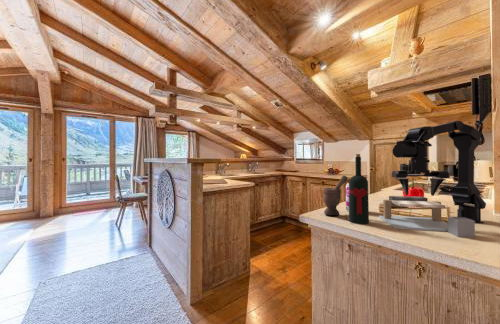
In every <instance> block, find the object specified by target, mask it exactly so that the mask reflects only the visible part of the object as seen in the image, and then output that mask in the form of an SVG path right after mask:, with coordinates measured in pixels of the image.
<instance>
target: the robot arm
mask: <svg viewBox="0 0 500 324" xmlns="http://www.w3.org/2000/svg"><path fill="white" fill-rule="evenodd" d="M446 133H448V137H449V138H450V139H451V140H452V141H453V143H452V144H453V146H454V147H455V149H457V151H458V155H457V157H458V161H457V162H458V163H457V170H458V171H457V183H456V185H455V186H452V187H451V194H450V195H451V198H452V201H453V205H454V206H458V209H457V216H456V217H465V218H468V219H471V220H474V221H475V224H476V223H477V224H478V223H479V224H480V223H481V224H484V223H485V222H484V221H483V220H481V219H482V216H481V215H482V211H481V210H485V209H486V207H487V203H486V202H485V201H484V199H483V198H482V197H481V195H480V190H479V188H478V187H477V186H476V184H475V150H476V149H477V148H478V146H479V145H480V143H481V139H482V134H481V132H480V131H479V130H478V129H476V128H475V127H474V126H472V125H469V124H466V123H464V122H462V121H461V120H452V121H447V122H445V123H441V124H440V123H439V124H437V125H433V126H431V125H429V126H427V125H426V126H419V127H414V128H413V127H412V128H410V129H408V132H407V134H406V135H405V137H403V140H397V141H396V144H394V146H393V148H392V155H393V156H394V157H395V158H399V159H400V158H405V159H406V158H410V160H408V164H407V163H400V165H399V170H392V172H391V178H395V180H397V181H398V182H399V183H400V185H401V187H402V189H403V191H404V193H405V196H408V195H409V178H407V177H413V178H414V177H420V178H421V177H427V178H428V177H430V178H429V180H430V196H435V195H436V192H437V190H438V189H439V187H440V186H441V185H442V184H443V182H444V181H447V179H451V174H450V172H449V171H447V170H430V169H429V163H430V162H431V161H430V159H429V154H428V153H429V152H428V150H429V149H428V147H432V146H433V144H432V143H430V142H429V140H431V139H433V138H434V137H435V136H438V135H441V134H446Z"/></svg>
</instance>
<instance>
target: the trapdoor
mask: <svg viewBox="0 0 500 324" xmlns="http://www.w3.org/2000/svg"><path fill="white" fill-rule="evenodd" d="M388 200H391V206H399V207H407V208H408V207H409V208H411V207H412V208H432V207H433V208H441V209H446V205H445V204H442V203H441V204H439V203H435V202H432V201H431V200H430V201H428V197H425V196H413V195H412V196H408V195H405V196H404V195H403V196H402V195H389V196H388Z"/></svg>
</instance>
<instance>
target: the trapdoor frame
mask: <svg viewBox="0 0 500 324" xmlns="http://www.w3.org/2000/svg"><path fill="white" fill-rule="evenodd" d="M382 201H383V202H382V203H383V207H382V208H383V211H382V213H383V215H378V219H381V220H382V221H384V222H385V223H387V224H388V225H389V226H391V227H393V228H394V229H396V230H413V231H414V230H415V231H430V232H431V231H432V232H434V231H435V232H448V222H446V221H444V220H442V208H433V207H431V217H419V216H398V215H397V216H396V215H395V216H394V215H392V204H391V200H389V199H383V200H382ZM431 202H435V203H439V204H442V202H441V201H438V200H436V201H435V200H432V201H431Z"/></svg>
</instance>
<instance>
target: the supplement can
mask: <svg viewBox="0 0 500 324" xmlns="http://www.w3.org/2000/svg"><path fill="white" fill-rule="evenodd" d="M345 210H346V211H347V212H348V213H349V182H347V183H346V185H345Z"/></svg>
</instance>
